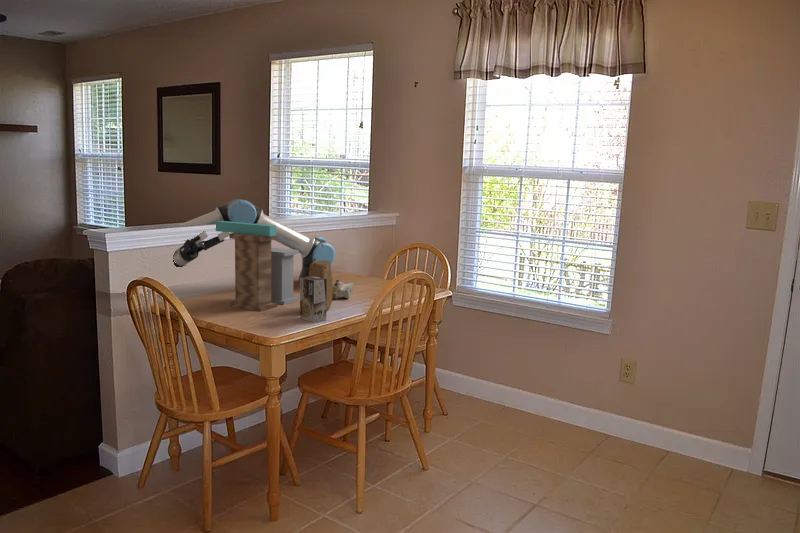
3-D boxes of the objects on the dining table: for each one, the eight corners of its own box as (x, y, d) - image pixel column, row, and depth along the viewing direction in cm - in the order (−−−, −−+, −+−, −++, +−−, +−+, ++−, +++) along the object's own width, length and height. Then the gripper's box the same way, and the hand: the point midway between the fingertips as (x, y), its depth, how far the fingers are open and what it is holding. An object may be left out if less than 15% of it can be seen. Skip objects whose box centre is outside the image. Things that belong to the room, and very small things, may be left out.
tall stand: (230, 306, 253) (229, 233, 249) (246, 302, 262) (245, 231, 258) (261, 311, 246) (260, 236, 242) (276, 306, 255) (276, 234, 251)
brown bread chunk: (323, 313, 247) (323, 263, 244) (306, 311, 249) (306, 262, 246) (334, 307, 257) (335, 260, 254) (318, 305, 259) (318, 258, 256)
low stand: (254, 300, 267) (254, 249, 263) (269, 296, 275) (269, 247, 272) (284, 304, 260) (284, 252, 256) (298, 300, 268) (298, 250, 265)
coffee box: (327, 320, 235) (327, 278, 233) (313, 322, 231) (313, 280, 228) (312, 315, 242) (313, 275, 239) (299, 318, 237) (299, 276, 235)
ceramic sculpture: (354, 281, 270) (320, 283, 268) (355, 300, 272) (321, 302, 269) (351, 277, 281) (318, 279, 278) (352, 295, 282) (319, 298, 279)
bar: (215, 231, 256) (215, 221, 255) (222, 230, 259) (222, 220, 259) (269, 236, 243) (269, 226, 243) (276, 235, 247) (276, 225, 246)
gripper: (210, 258, 278) (241, 238, 268) (166, 265, 256) (199, 243, 246) (203, 243, 279) (234, 222, 269) (159, 249, 257) (191, 226, 247)
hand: (217, 232), depth 257 cm, fingers open, 13 cm apart
